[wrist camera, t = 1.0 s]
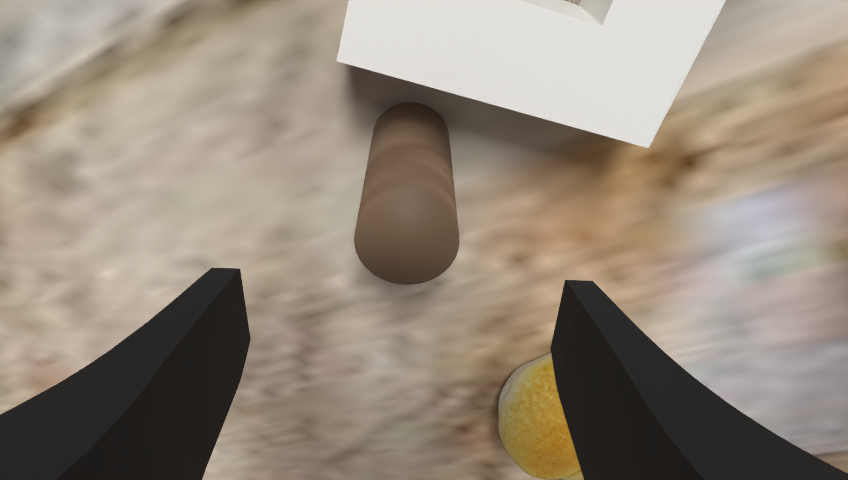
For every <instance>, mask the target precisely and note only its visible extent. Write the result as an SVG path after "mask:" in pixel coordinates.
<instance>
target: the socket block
mask: <svg viewBox="0 0 848 480" xmlns="http://www.w3.org/2000/svg"><path fill="white" fill-rule="evenodd" d="M725 1H726V0H580V2H579V4H578V5H577V4H573V3H570V2H567V1H564V0H349V2H348V7H347V12H346V17H345V22H344V27H343V32H342V37H341V42H340V46H339V51H338V56H337V61H338V62H342V63H345V64H349V65H352V66H356V67H360V68H363V69H367V70H370V71H374V72H378V73H381V74H385V75H388V76H392V77H395V78H399V79H403V80H406V81H410V82H413V83H417V84H421V85H424V86H428V87H431V88H435V89H438V90H442V91H446V92H449V93H453V94H456V95H460V96H464V97H467V98H471V99H474V100H478V101H481V102H485V103H489V104H492V105H496V106H499V107H503V108H507V109H510V110H514V111H517V112H521V113H524V114H528V115H532V116H535V117H539V118H542V119H546V120H550V121H553V122H557V123H560V124H564V125H567V126H571V127H575V128H578V129H582V130H585V131H589V132H593V133H596V134H600V135H603V136H607V137H610V138H614V139H618V140H621V141H625V142H628V143H632V144H636V145H639V146H643V147H646V148H649V146H650V144H651V142H652V140H653V138H654V137H655V135H656V133H657V131H658V129H659V127H660V125H661V123H662V121H663V119H664V117H665V116H666V114H667V112H668V110H669V108H670V106H671V104H672V102H673V100H674V98H675V97H676V95H677V93H678V91H679V89H680V87H681V85H682V83H683V81H684V79H685V77H686V76H687V74H688V72H689V70H690V68H691V66H692V64H693V62H694V60H695V58H696V56H697V55H698V53H699V51H700V49H701V47H702V45H703V43H704V41H705V39H706V37H707V36H708V34H709V32H710V30H711V28H712V26H713V24H714V22H715V20H716V18H717V16H718V15H719V13H720V11H721V9H722V7H723V5H724V3H725Z"/></svg>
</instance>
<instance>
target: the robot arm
mask: <svg viewBox="0 0 848 480" xmlns="http://www.w3.org/2000/svg"><path fill="white" fill-rule="evenodd" d="M249 343H250V333H249V327H248V320H247V313H246V306H245V300H244V293H243V286H242V279H241V273H240V269H233V268H211V269H210V270H209V271H208V272H206V273H205V274H204V275H203V276H202V277H200V278H199V279H198V280H197V281H196V282H195V283H193V284H192V285H191V286H190V287H189V288H188V289H186V290H185V291H184V292H183V293H182V294H181V295H179V296H178V297H177V298H176V299H175V300H174V301H172V302H171V303H170V304H169V305H168V306H166V307H165V308H164V309H163V310H162V311H160V312H159V313H158V314H157V315H156V316H154V317H153V318H152V319H151V320H149V321H148V322H147V323H146V324H144V325H143V326H142V327H140V328H139V329H138V330H136V331H135V332H134V333H132V334H131V335H130V336H128V337H127V338H126V339H124V340H123V341H122V342H120V343H119V344H118V345H116V346H115V347H114V348H112V349H111V350H110V351H108V352H107V353H105V354H104V355H102V356H101V357H100V358H98V359H97V360H95V361H94V362H92V363H91V364H89V365H87V366H86V367H84V368H83V369H81V370H79V371H78V372H76V373H75V374H73V375H71V376H70V377H68V378H67V379H65V380H63V381H62V382H60V383H58V384H57V385H55V386H53V387H51V388H49V389H47V390H46V391H44V392H42V393H40V394H38V395H36V396H35V397H33V398H31V399H29V400H27V401H25V402H24V403H22V404H20V405H18V406H16V407H14V408H13V409H11V410H9V411H7V412H5V413H3V414H1V415H0V480H202V478H203V475H204V472H205V469H206V467H207V464H208V461H209V459H210V456H211V454H212V451H213V449H214V446H215V444H216V441H217V439H218V436H219V434H220V431H221V429H222V426H223V424H224V421H225V419H226V416H227V414H228V411H229V409H230V406H231V403H232V401H233V398H234V396H235V393H236V390H237V388H238V385H239V383H240V380H241V376H242V372H243V368H244V364H245V361H246V356H247V352H248V348H249ZM551 355H552V362H553V369H554V375H555V381H556V387H557V391H558V395H559V398H560V402H561V405H562V408H563V412H564V415H565V419H566V422H567V425H568V429H569V432H570V435H571V439H572V442H573V445H574V448H575V452H576V455H577V458H578V462H579V465H580V468H581V472H582V475H583V478H584V480H848V473H845V472H843V471H841V470H839V469H837V468H835V467H833V466H831V465H829V464H828V463H826V462H824V461H822V460H820V459H818V458H817V457H815V456H813V455H811V454H809V453H807V452H806V451H804V450H802V449H800V448H798V447H797V446H795V445H793V444H791V443H790V442H788V441H786V440H785V439H783V438H781V437H779V436H778V435H776V434H774V433H773V432H771V431H770V430H768V429H767V428H765V427H763V426H762V425H760V424H759V423H757V422H756V421H754V420H752V419H751V418H749V417H748V416H746V415H745V414H743V413H742V412H740V411H739V410H737V409H736V408H734V407H733V406H731V405H730V404H729V403H727V402H726V401H724V400H723V399H722V398H720V397H719V396H718V395H716V394H715V393H714V392H712V391H711V390H710V389H708V388H707V387H706V386H704V385H703V384H702V383H700V382H699V381H698V380H697V379H695V378H694V377H693V376H692V375H690V374H689V373H688V372H687V371H685V370H684V369H683V368H682V367H681V366H680V365H678V364H677V363H676V362H675V361H674V360H673V359H672V358H670V357H669V356H668V355H667V354H666V353H665V352H664V351H662V350H661V349H660V348H659V347H658V346H657V345H656V344H655V343H654V342H653V341H652V340H651V339H650V338H649V337H647V336H646V335H645V334H644V333H643V332H642V331H641V330H640V329H639V328H638V327H637V326H636V325H635V324H634V323H633V322H632V321H631V320H630V319H629V318H628V317H627V316H626V315H625V314H624V313H623V312H622V311H621V310H620V309H619V308H618V307H617V306H616V304H615V303H614V302H613V301H612V300H611V299H610V298H609V297H608V296H607V295H606V294H605V293H604V292H603V291H602V290H601V289H600V288H599V287H598V286H597V285H596V284H595V283H594V282H593V281H578V280H565V284H564V288H563V293H562V298H561V302H560V307H559V312H558V316H557V321H556V326H555V330H554V335H553V340H552V344H551Z"/></svg>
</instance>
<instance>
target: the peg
mask: <svg viewBox="0 0 848 480" xmlns="http://www.w3.org/2000/svg"><path fill="white" fill-rule="evenodd" d="M354 243H355V249H356V252H357V255H358V257H359V259H360V260H361V262H362V263H363V265H364V266H365V267H366V268H367V269H368V270H369V271H370V272H371V273H373V274H374V275H376V276H377V277H379V278H381V279H383V280H386V281H389V282H392V283H397V284H418V283H423V282H426V281H429V280H432V279H434V278H436V277H437V276H439V275H440V274H442V273H443V272H444V271H445V270H447V269H448V267H449V266H450V265H451V264H452V262H453V261H454V259H455V257H456V255H457V252H458V248H459V231H458V221H457V211H456V201H455V192H454V182H453V172H452V162H451V152H450V142H449V134H448V129H447V126H446V124H445V122H444V120H443V119H442V118H441V116H440V115H439V114H438V113H437V112H435V111H434V110H433V109H431V108H429V107H427V106H425V105H422V104H418V103H403V104H399V105H396V106H394V107H392V108H390V109H388V110H387V111H386V112H384V113H383V114H382V115H381V117H380V118H379V119H378V121H377V123H376V125H375V127H374V131H373V137H372V142H371V148H370V153H369V159H368V164H367V170H366V175H365V181H364V186H363V192H362V197H361V203H360V208H359V214H358V219H357V225H356V230H355V236H354Z"/></svg>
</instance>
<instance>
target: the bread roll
mask: <svg viewBox="0 0 848 480" xmlns="http://www.w3.org/2000/svg"><path fill="white" fill-rule="evenodd" d="M498 415H499V421H498V429H499V434H500V438H501V440H502V443H503V445H504V447H505V449H506V451H507V453H508V454H509V455H510V456H511V457H512V459H513V460H514V461H515V463H516V464H517V465H518V466H519V467H520V468H521V469H522V470H524V471H525V472H526V473H527V474H529V475H531V476H533V477H537V478H541V479H550V480H555V479H559V478H561V479H562V480H584V478H583V475H582V472H581V468H580V465H579V462H578V458H577V455H576V452H575V448H574V445H573V442H572V439H571V435H570V432H569V429H568V425H567V422H566V419H565V415H564V412H563V408H562V405H561V402H560V398H559V395H558V391H557V387H556V381H555V375H554V369H553V362H552V355H551V352H550V353H548V354H546V355H544V356H542V357H539V358H537V359H535V360H532V361H530V362H527V363H525V364H524V365H521V366H520V367H518V368H517V369H516V370H515V371H514V372H513V373H512V374H511V376H510V377H509V378H508V380H507V382H506V384H505V385H504V387H503V389H502V391H501V394H500V397H499V405H498Z"/></svg>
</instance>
